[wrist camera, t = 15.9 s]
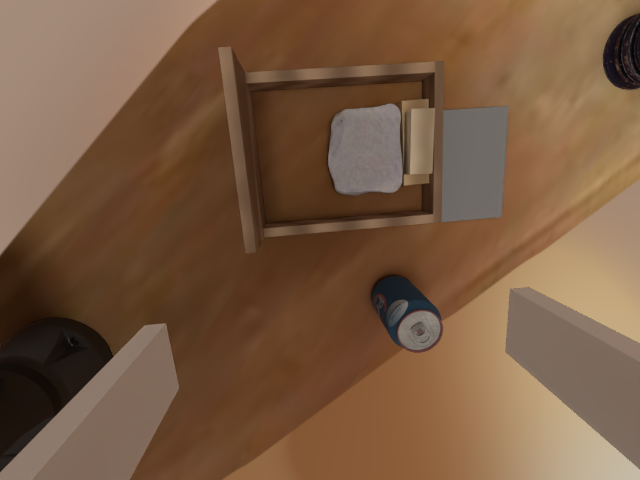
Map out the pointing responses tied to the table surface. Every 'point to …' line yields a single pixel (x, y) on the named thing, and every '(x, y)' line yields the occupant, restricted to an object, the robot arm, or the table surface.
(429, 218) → the wooden tray
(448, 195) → the mat
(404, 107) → the block
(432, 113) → the offcut short
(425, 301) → the soda can
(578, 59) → the table surface
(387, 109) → the stone block
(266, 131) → the table surface
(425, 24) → the table surface
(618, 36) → the storage jar
